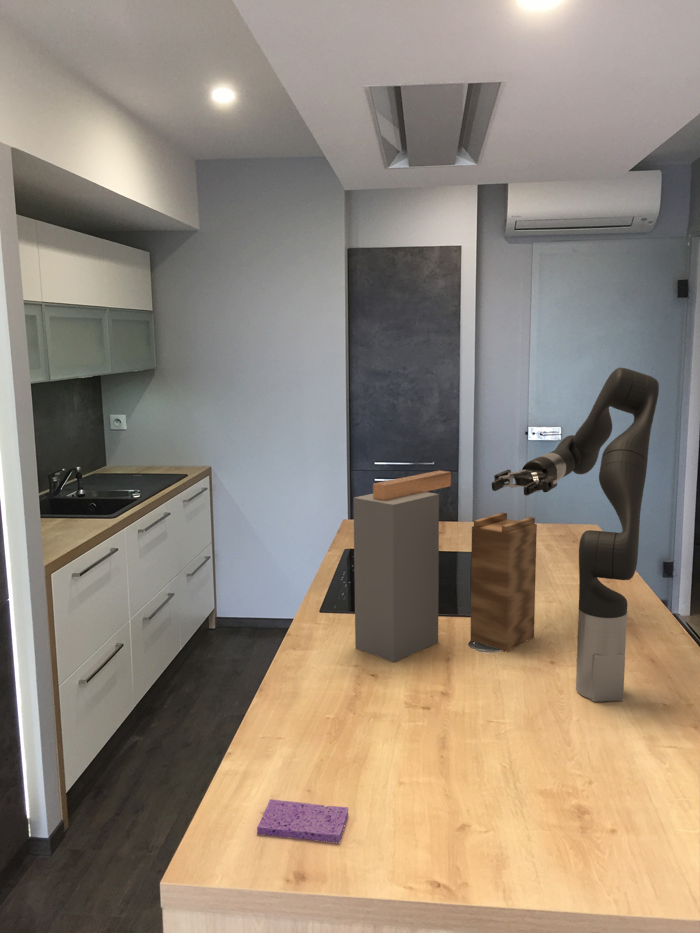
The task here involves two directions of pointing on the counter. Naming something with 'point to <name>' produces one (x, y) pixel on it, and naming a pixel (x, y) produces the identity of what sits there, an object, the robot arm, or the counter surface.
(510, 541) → the wood grain block
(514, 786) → the counter surface
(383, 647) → the stand
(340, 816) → the sponges
